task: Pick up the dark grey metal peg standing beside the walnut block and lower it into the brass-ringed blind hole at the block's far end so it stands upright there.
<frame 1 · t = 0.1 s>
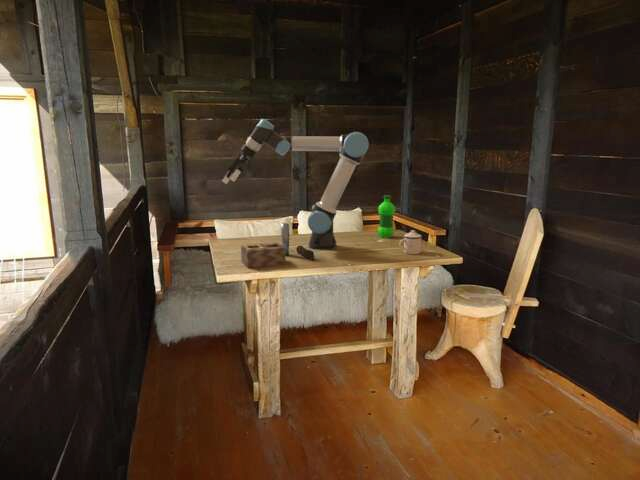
hand: (228, 181, 246), 36 cm above the table, tool tilted 35°, fingers open, 13 cm apart
teacup with lid: (409, 253, 249), on the table
plastic bottle: (385, 237, 289), on the table
hole block: (263, 263, 226), on the table
peg: (285, 254, 242), on the table
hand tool: (307, 257, 239), on the table
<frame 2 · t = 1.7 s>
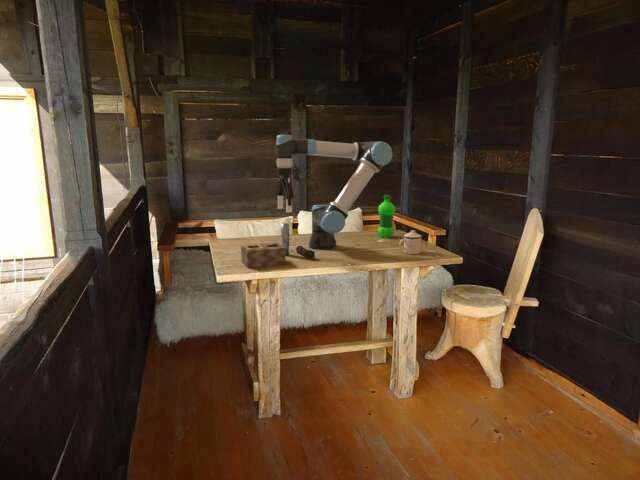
hand: (284, 210, 238), 23 cm above the table, tool pointing down, fingers open, 13 cm apart
nothing on the table moved.
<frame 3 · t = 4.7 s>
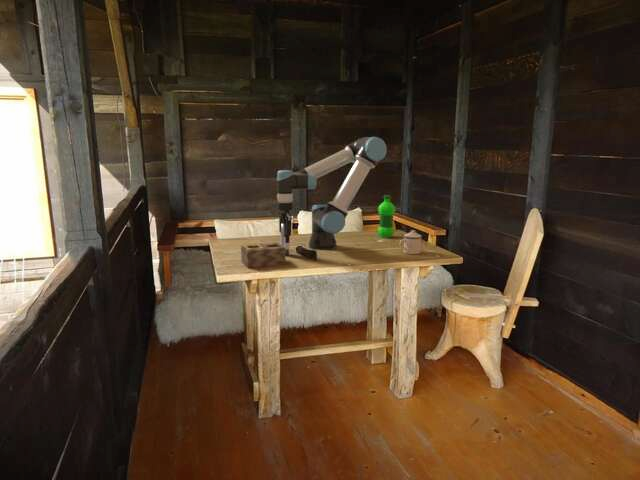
hand: (285, 247, 242), 4 cm above the table, tool pointing down, fingers closed on peg, 4 cm apart
peg: (285, 254, 242), on the table, touching gripper
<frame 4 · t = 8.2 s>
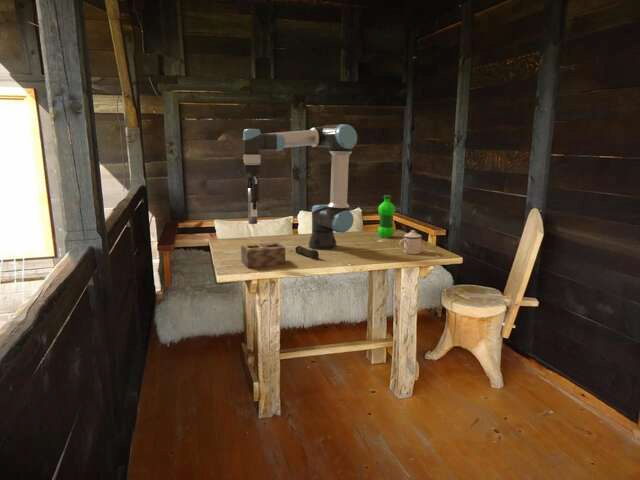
hand: (252, 215, 220), 23 cm above the table, tool pointing down, fingers closed on peg, 4 cm apart
peg: (253, 223, 220), point 19 cm above the table, touching gripper
when the fingers open (10 cm above the table, at t = 12.0 s): peg drops 3 cm, resting on hole block.
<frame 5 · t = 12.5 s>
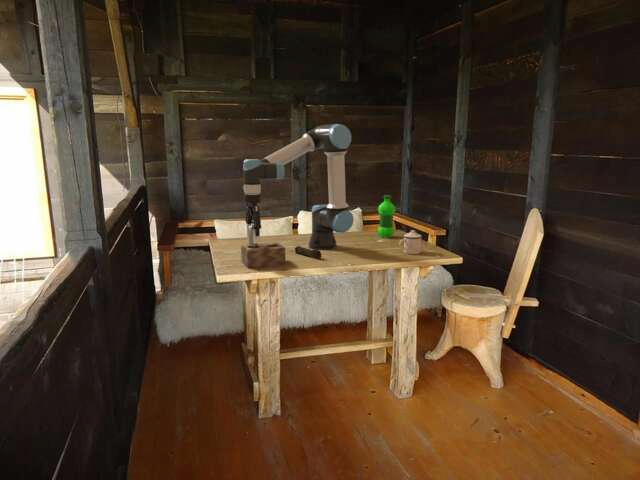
hand: (253, 240, 222), 11 cm above the table, tool pointing down, fingers open, 12 cm apart
peg: (253, 259, 224), point 2 cm above the table, touching hole block
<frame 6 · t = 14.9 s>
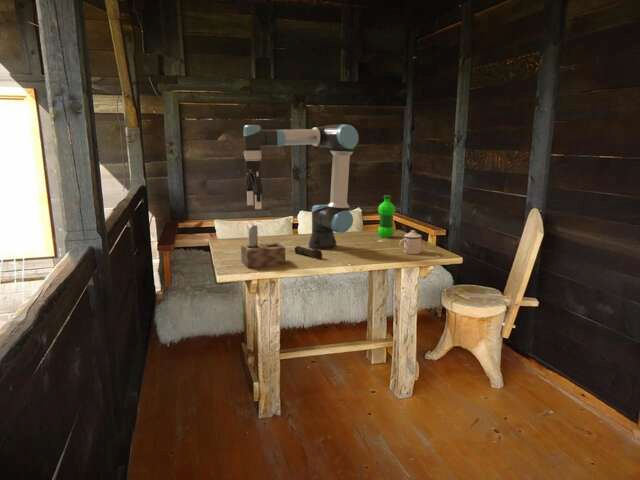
hand: (254, 207, 220), 27 cm above the table, tool pointing down, fingers open, 13 cm apart
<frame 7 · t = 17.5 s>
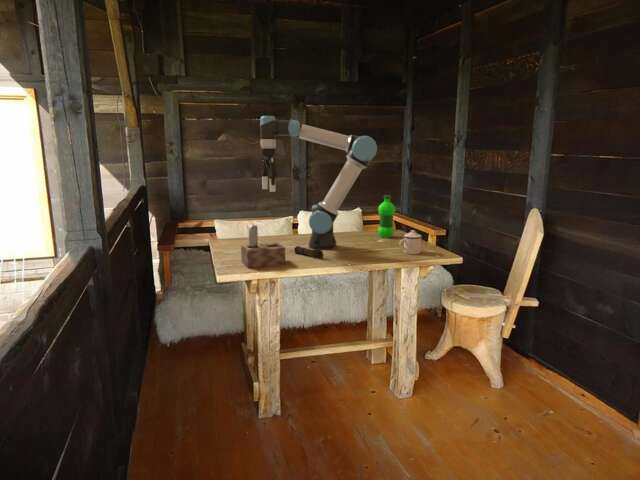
hand: (268, 190, 244), 32 cm above the table, tool pointing down, fingers open, 13 cm apart
at the end: peg 0.1 cm from the target spot on the hole block, point 2.0 cm above the hole block's base; peg tilted 0°; the gripper is holding nothing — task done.
